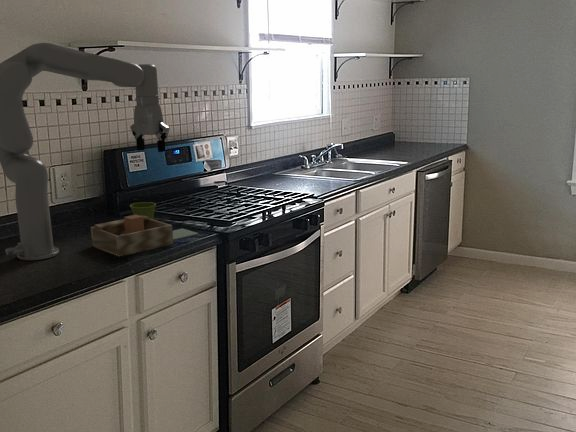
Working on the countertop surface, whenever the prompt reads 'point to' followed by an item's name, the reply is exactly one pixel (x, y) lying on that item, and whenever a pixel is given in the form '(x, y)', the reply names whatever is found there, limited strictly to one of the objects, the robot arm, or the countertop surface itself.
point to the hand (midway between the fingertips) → (151, 150)
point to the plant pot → (143, 209)
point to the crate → (131, 237)
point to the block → (133, 224)
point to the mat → (183, 234)
